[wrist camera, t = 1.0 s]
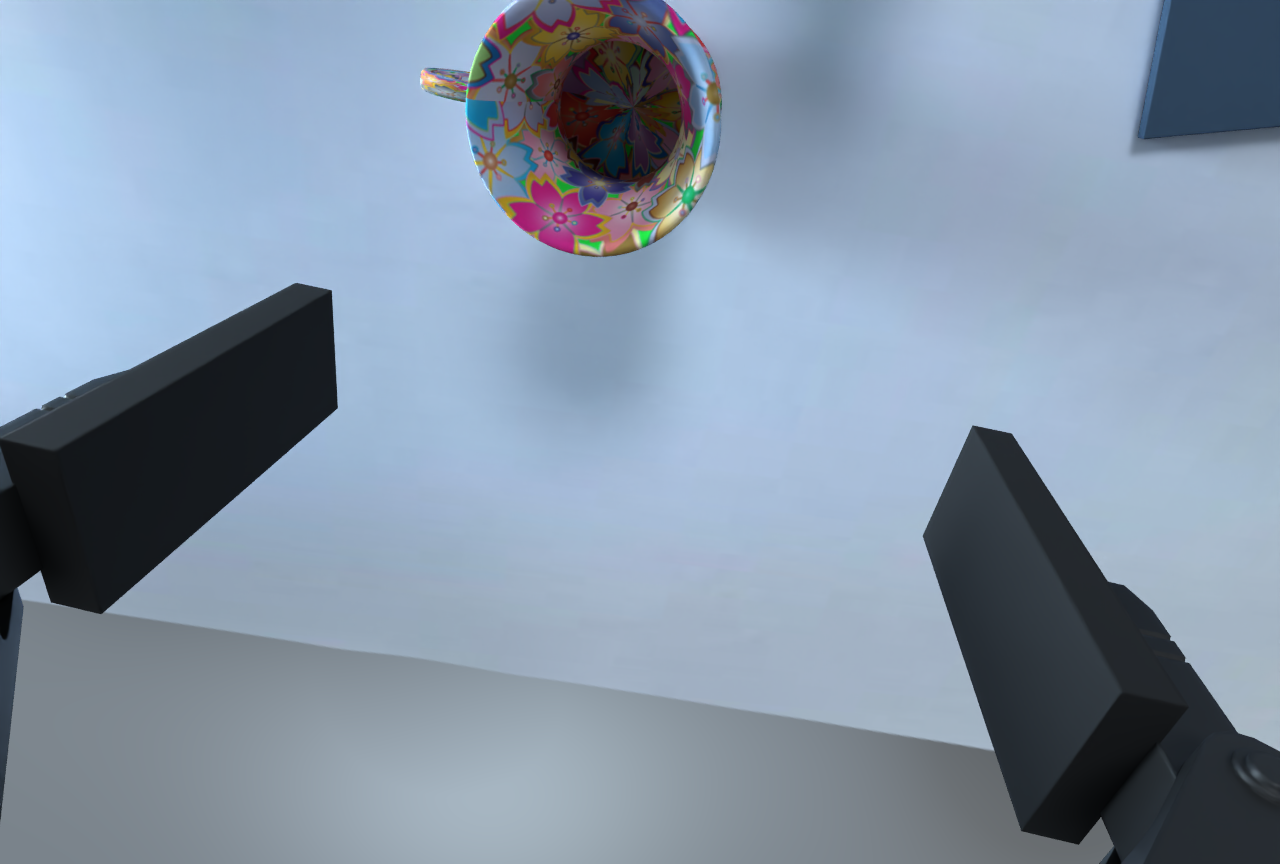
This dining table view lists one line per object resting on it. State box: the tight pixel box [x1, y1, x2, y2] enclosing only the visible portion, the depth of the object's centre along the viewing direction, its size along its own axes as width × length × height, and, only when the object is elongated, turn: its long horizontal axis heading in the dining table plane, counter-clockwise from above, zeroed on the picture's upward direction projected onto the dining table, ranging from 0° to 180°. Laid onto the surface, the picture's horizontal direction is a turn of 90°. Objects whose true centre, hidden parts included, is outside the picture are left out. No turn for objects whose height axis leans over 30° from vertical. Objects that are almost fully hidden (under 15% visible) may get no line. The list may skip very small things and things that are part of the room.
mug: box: [420, 0, 722, 257], centre depth 30 cm, size 12×9×11 cm
